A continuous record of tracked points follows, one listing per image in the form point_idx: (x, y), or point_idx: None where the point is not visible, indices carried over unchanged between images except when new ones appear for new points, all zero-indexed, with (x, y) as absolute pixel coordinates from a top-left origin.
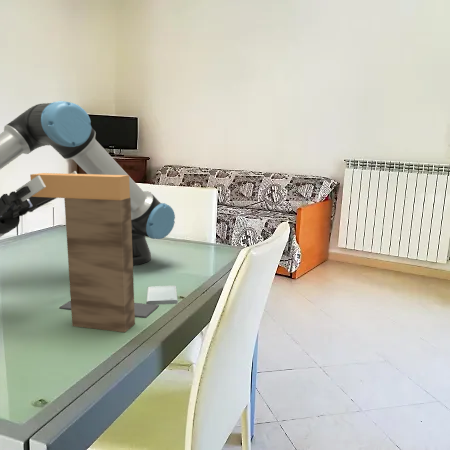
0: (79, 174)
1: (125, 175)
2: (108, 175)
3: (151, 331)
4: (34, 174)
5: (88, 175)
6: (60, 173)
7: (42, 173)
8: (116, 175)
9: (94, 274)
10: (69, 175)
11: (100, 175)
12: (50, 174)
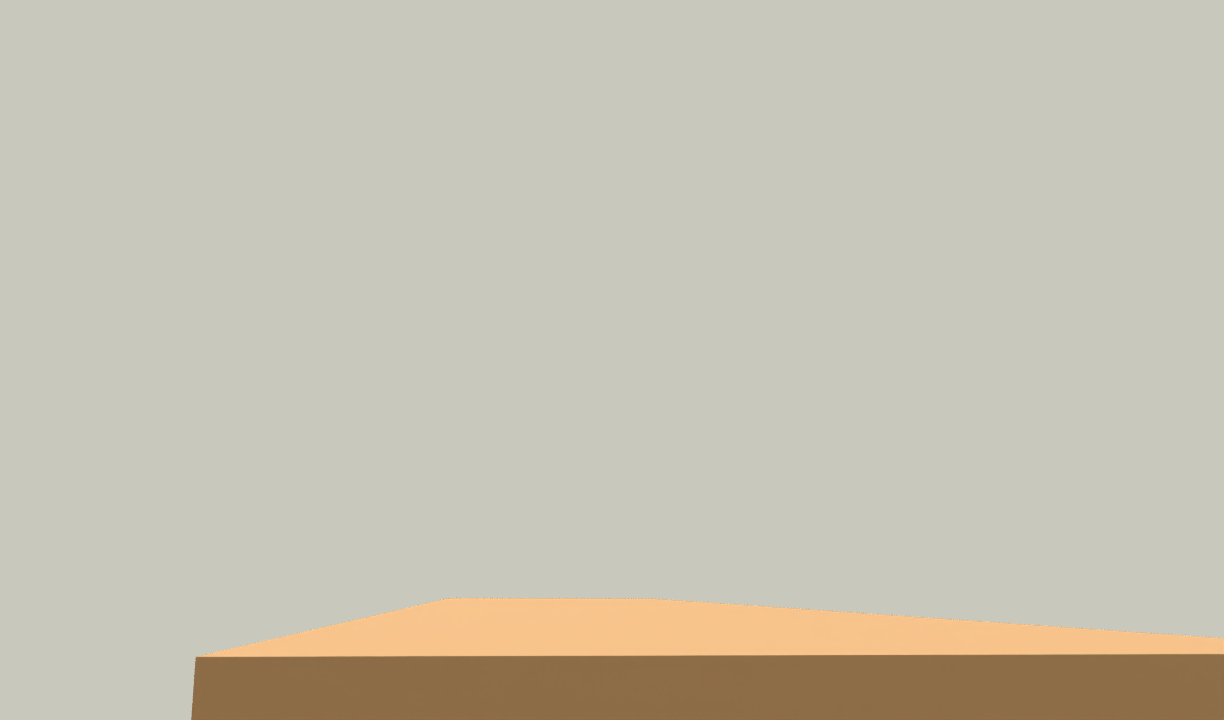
0: (516, 607)
1: (483, 598)
2: (538, 600)
3: None
4: (1221, 642)
5: (634, 603)
6: (360, 619)
7: (559, 644)
8: (508, 599)
9: None
10: (769, 608)
11: (573, 601)
12: (801, 620)
